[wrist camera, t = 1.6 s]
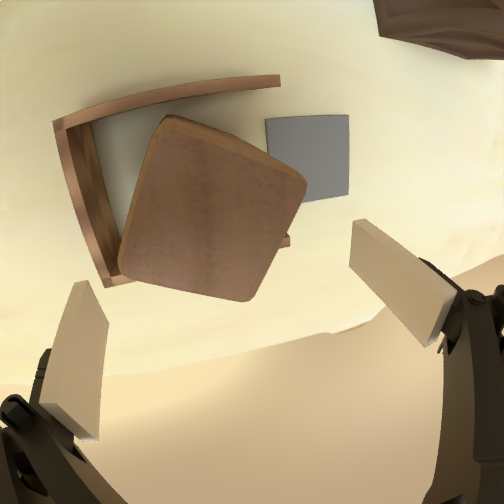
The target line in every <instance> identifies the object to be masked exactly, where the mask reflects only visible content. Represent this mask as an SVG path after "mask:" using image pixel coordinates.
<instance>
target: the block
mask: <svg viewBox="0 0 504 504" xmlns="http://www.w3.org/2000/svg"><path fill="white" fill-rule="evenodd" d="M306 190H307V182H306V180H305V178H304V177H303V176H302V175H301V174H300V173H299V172H298V171H296V170H295V169H293V168H291V167H290V166H288V165H286V164H284V163H283V162H281V161H279V160H277V159H276V158H274V157H272V156H270V155H269V154H267V153H265V152H263V151H261V150H260V149H258V148H256V147H254V146H252V145H250V144H249V143H247V142H245V141H243V140H241V139H239V138H237V137H235V136H233V135H230V134H227V133H225V132H222V131H219V130H217V129H214V128H211V127H208V126H206V125H203V124H200V123H197V122H194V121H191V120H188V119H185V118H182V117H179V116H176V115H166V116H165V117H164V118H163V119H162V121H161V122H160V124H159V126H158V128H157V129H156V131H155V133H154V135H153V136H152V139H151V142H150V145H149V147H148V150H147V153H146V156H145V159H144V162H143V165H142V168H141V171H140V175H139V178H138V181H137V184H136V188H135V191H134V195H133V198H132V202H131V205H130V209H129V213H128V216H127V220H126V224H125V228H124V232H123V236H122V241H121V245H120V249H119V254H118V259H117V261H118V266H119V270H120V273H121V274H122V275H123V276H125V277H127V278H128V279H132V280H136V281H141V282H145V283H149V284H154V285H158V286H163V287H167V288H172V289H177V290H181V291H186V292H191V293H196V294H201V295H206V296H211V297H216V298H221V299H227V300H232V301H237V302H247V301H250V300H251V299H252V298H253V297H254V296H255V294H256V292H257V290H258V288H259V286H260V284H261V282H262V280H263V279H264V277H265V275H266V273H267V271H268V269H269V267H270V265H271V263H272V261H273V259H274V257H275V255H276V253H277V251H278V249H279V247H280V245H281V243H282V241H283V239H284V237H285V235H286V233H287V231H288V229H289V227H290V225H291V223H292V221H293V219H294V217H295V215H296V213H297V211H298V209H299V207H300V205H301V203H302V200H303V198H304V196H305V194H306Z"/></svg>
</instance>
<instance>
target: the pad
mask: <svg viewBox="0 0 504 504" xmlns="http://www.w3.org/2000/svg"><path fill="white" fill-rule="evenodd" d="M265 127H266V138H267V150H268V154H269V155H270V156H272V157H274V158H276V159H277V160H279V161H281V162H283V163H284V164H286V165H288V166H290V167H291V168H293V169H295V170H296V171H298V172H299V173H300V174H301V175H302V176H303V177H304V178H305V180H306V182H307V190H306V194H305V196H304V198H303V200H302V203H303V202H309V201H315V200H320V199H326V198H332V197H338V196H344V195H348V190H349V115H322V116H301V117H286V118H274V119H265Z"/></svg>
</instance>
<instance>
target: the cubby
mask: <svg viewBox="0 0 504 504" xmlns="http://www.w3.org/2000/svg"><path fill="white" fill-rule="evenodd" d="M271 87H281V83H280V75H259V76H245V77H233V78H224V79H215V80H208V81H200V82H194V83H188V84H182V85H176V86H171V87H166V88H161V89H156V90H152V91H147V92H143V93H139V94H135V95H131V96H127V97H123V98H119V99H116V100H112V101H109V102H106V103H102V104H99V105H96V106H93V107H90V108H87V109H84V110H81V111H78V112H75V113H72V114H70V115H67V116H64V117H62V118H59V119H57V120H54V121H52V122H53V128H54V133H55V138H56V142H57V147H58V151H59V156H60V160H61V164H62V168H63V172H64V175H65V179H66V183H67V186H68V190H69V193H70V196H71V200H72V203H73V206H74V209H75V212H76V215H77V218H78V221H79V224H80V227H81V230H82V233H83V236H84V238H85V241H86V244H87V246H88V249H89V252H90V254H91V257H92V259H93V262H94V264H95V267H96V269H97V271H98V274H99V276H100V278H101V281H102V283H103V285H104V288H109V287H113V286H117V285H122V284H126V283H131V282H135V281H136V280H132V279H128V278H127V277H125V276H123V275H122V274H121V273H120V270H119V266H118V261H117V259H118V254H119V249H120V245H121V241H122V239H120V236H119V233H118V230H117V227H116V224H115V220H114V217H113V214H112V210H111V207H110V204H109V200H108V196H107V193H106V189H105V185H104V181H103V178H102V174H101V169H100V165H99V161H98V157H97V152H96V148H95V143H94V138H93V133H92V128H91V123H90V122H92V121H95V120H98V119H101V118H105V117H108V116H111V115H115V114H118V113H122V112H126V111H130V110H133V109H137V108H141V107H146V106H150V105H154V104H159V103H164V102H169V101H174V100H179V99H184V98H190V97H196V96H203V95H209V94H217V93H225V92H233V91H243V90H254V89H262V88H271ZM289 246H290V236H289V235H288V234H287V233H286V235H285V237H284V239H283V241H282V243H281V245H280V247H279V249H280V248H285V247H289Z"/></svg>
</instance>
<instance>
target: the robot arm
mask: <svg viewBox="0 0 504 504" xmlns="http://www.w3.org/2000/svg"><path fill="white" fill-rule="evenodd" d="M349 267H350V268H351V269H352V270H353V271H354V272H355V273H356V274H357V275H358V276H359V277H360V278H361V279H362V280H363V281H364V282H365V283H366V284H367V285H368V286H369V287H370V288H371V289H372V291H373V292H374V293H375V294H376V295H377V296H378V297H379V298H380V299H381V300H382V301H383V302H384V303H385V304H386V305H387V307H388V308H389V309H390V310H391V311H392V312H393V313H394V314H395V315H396V316H397V317H398V318H399V319H400V321H401V322H402V323H403V324H404V325H405V326H406V327H407V329H408V330H409V331H410V332H411V333H412V334H413V335H414V336H415V338H416V339H417V340H418V341H419V342H420V343H421V344H422V346H423V347H424V348H425V347H427V346H428V345H430V344H432V343H434V342H435V341H436V340H437V338H438V336H439V334H440V332H441V331H442V332H443V333H444V334H445V336H444V338H443V340H442V342H441V344H440V346H439V348H438V352H437V353H440V351H441V349H442V348H443V355H444V389H443V409H442V422H441V433H440V442H439V449H438V456H437V463H436V469H435V474H434V479H433V483H432V485H431V487H430V489H429V490H428V492H427V493H426V495H425V498H424V500H423V502H422V504H504V336H503V335H502V333H501V332H502V330H503V328H504V285H498V286H497V287H496V289H495V292H494V294H493V295H489V296H484V295H483V294H482V293H480V292H479V291H476V290H466V291H464V290H463V289H461V288H460V287H459V286H458V285H457V284H456V283H454V282H453V281H452V280H451V279H450V278H448V277H447V276H446V275H445V274H443V273H442V272H441V271H440V270H439V269H437V268H436V267H435V266H434V265H433V264H431V263H430V262H428V261H426V260H424V259H422V258H420V257H419V258H417V257H416V256H415V255H413V254H412V253H411V252H409V251H408V250H407V249H406V248H404V247H403V246H402V245H400V244H399V243H398V242H396V241H395V240H394V239H392V238H391V237H390V236H388V235H387V234H386V233H384V232H383V231H382V230H380V229H379V228H377V227H376V226H375V225H373V224H372V223H370V222H369V221H368V220H366V219H360V220H355V221H353V226H352V239H351V251H350V261H349ZM108 328H109V322H108V320H107V318H106V316H105V314H104V312H103V311H102V309H101V307H100V305H99V302H98V300H97V298H96V296H95V294H94V292H93V290H92V288H91V286H90V283H89V281H88V280H85V281H81V282H76V283H74V285H73V288H72V290H71V293H70V296H69V298H68V301H67V304H66V307H65V309H64V312H63V315H62V318H61V321H60V324H59V327H58V330H57V333H56V337H55V340H54V343H53V347H52V348H50V349H46V350H45V352H44V353H43V355H42V357H41V358H40V361H39V364H38V368H37V369H38V371H36V375H35V378H36V379H34V383H33V387H32V391H31V396H30V400H29V404H28V403H27V402H26V401H25V400H24V399H23V398H22V397H21V396H20V395H18V394H14V395H10V396H8V397H7V398H6V399H5V400H4V401H3V402H2V404H1V407H0V420H1V421H2V422H3V423H5V424H6V425H7V426H8V427H5V428H2V427H1V426H0V504H128V503H127V502H126V501H125V500H124V499H123V498H122V497H121V496H120V495H119V494H118V493H117V492H116V491H115V490H114V489H113V488H112V487H111V486H110V485H109V484H108V483H107V482H106V480H105V479H104V478H103V477H102V476H101V475H100V474H99V472H98V471H97V470H96V469H95V468H94V466H93V465H92V464H91V463H90V462H89V460H88V459H87V458H86V457H85V456H84V454H83V453H82V452H81V450H80V449H79V447H78V446H77V445H76V444H75V443H74V435H75V436H76V437H77V438H78V439H80V440H81V441H99V416H100V399H101V385H102V375H103V365H104V356H105V348H106V341H107V334H108ZM17 471H18V472H17ZM18 475H19V476H18Z"/></svg>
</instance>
